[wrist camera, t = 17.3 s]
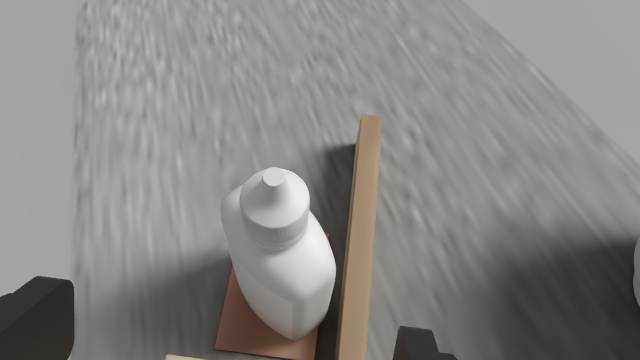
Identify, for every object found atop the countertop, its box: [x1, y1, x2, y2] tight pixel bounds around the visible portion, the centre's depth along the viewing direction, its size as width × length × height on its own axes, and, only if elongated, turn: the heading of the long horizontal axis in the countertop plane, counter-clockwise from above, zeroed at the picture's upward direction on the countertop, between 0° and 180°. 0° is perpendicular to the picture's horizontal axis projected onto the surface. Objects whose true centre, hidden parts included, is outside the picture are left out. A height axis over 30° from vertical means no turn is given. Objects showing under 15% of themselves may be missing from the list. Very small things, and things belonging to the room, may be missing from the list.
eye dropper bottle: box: [220, 167, 336, 341], centre depth 21 cm, size 4×6×12 cm
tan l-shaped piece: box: [165, 114, 382, 360], centre depth 26 cm, size 9×16×3 cm, turn 173°
